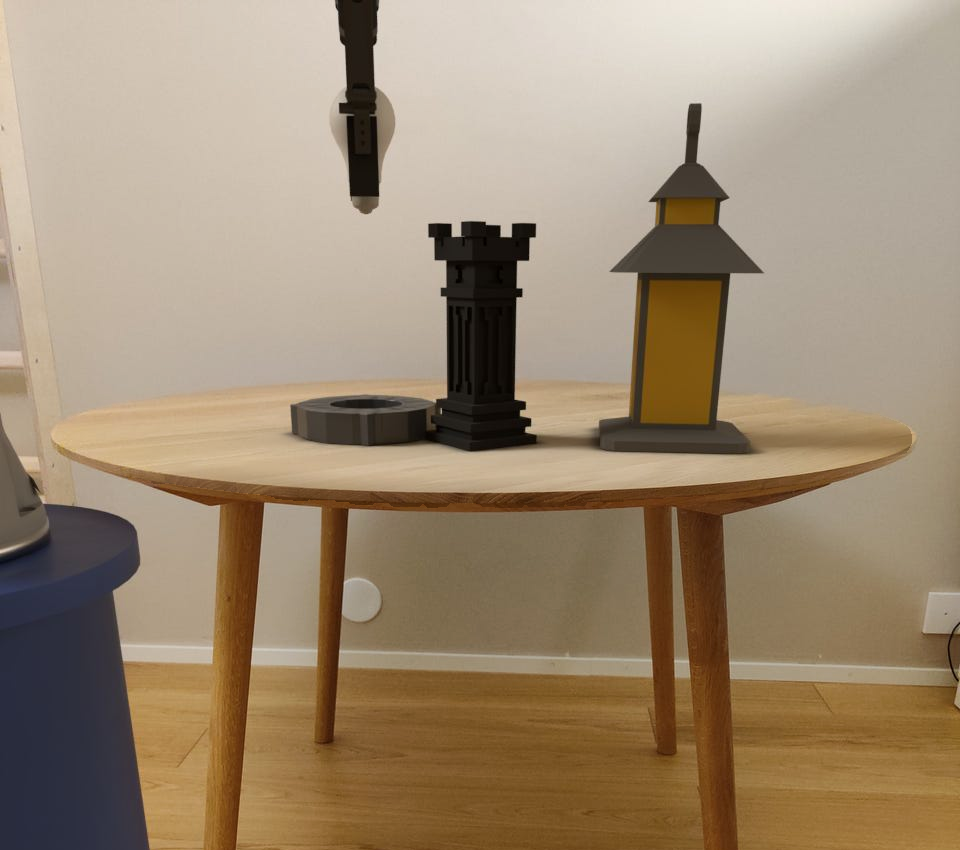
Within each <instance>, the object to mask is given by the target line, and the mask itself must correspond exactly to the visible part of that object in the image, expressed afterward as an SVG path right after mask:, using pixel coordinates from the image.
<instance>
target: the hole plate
mask: <svg viewBox="0 0 960 850" xmlns="http://www.w3.org/2000/svg"><path fill="white" fill-rule="evenodd" d="M289 406H290V421H291V434H292V435H297V436H299V437H300V438H302V439H305V440H308V441H310V442H311V441H312V442H318V443H324V444H336V445H337V444H338V445H351V446H353V445H355V446H356V445H360V446H373V445H389V444H399V443H410V442H414V441H420V440H424V439H425V440H426V431H430V430H436V424H432V423H431V415H437V414H442V408H438V407H436V401H433V400H430V399H425V398H422V397H413V396H405V395H386V394H368V393H367V394H353V395H352V394H350V395H336V396H335V395H334V396H325V397H324V396H323V397H317V398H310V399H306V400H303V401H300V402H298V403H291V404H290V405H289Z"/></svg>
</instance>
